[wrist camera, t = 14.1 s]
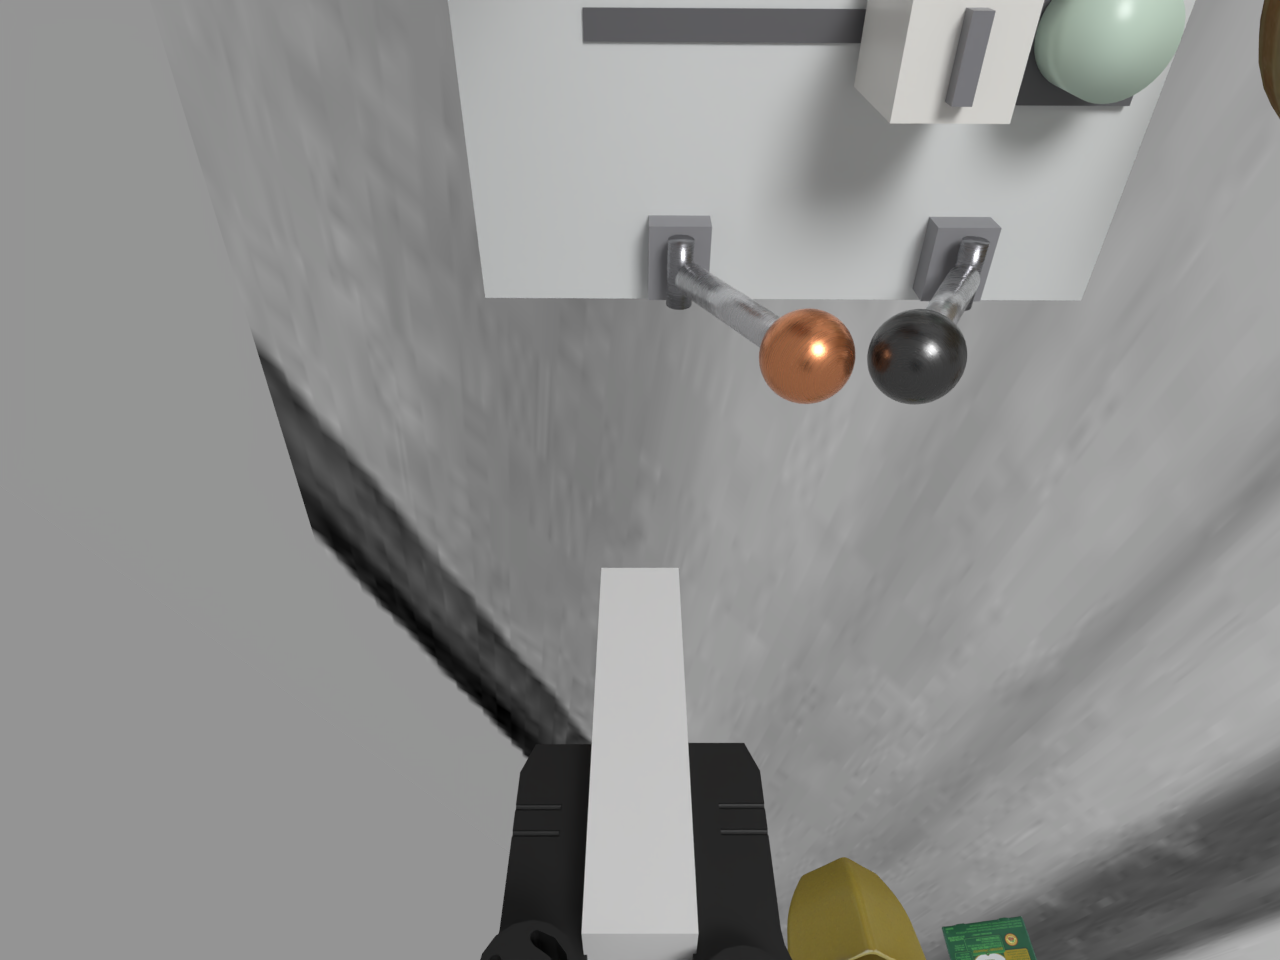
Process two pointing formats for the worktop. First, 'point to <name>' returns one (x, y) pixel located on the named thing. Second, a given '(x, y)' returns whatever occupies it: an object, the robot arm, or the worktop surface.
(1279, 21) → the ceramic vessel
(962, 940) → the coffee box
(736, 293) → the toggle orange
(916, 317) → the toggle black
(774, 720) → the worktop surface
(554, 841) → the robot arm
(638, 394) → the worktop surface
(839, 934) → the flower pot
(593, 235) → the panel
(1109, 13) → the button green
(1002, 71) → the fader knob
